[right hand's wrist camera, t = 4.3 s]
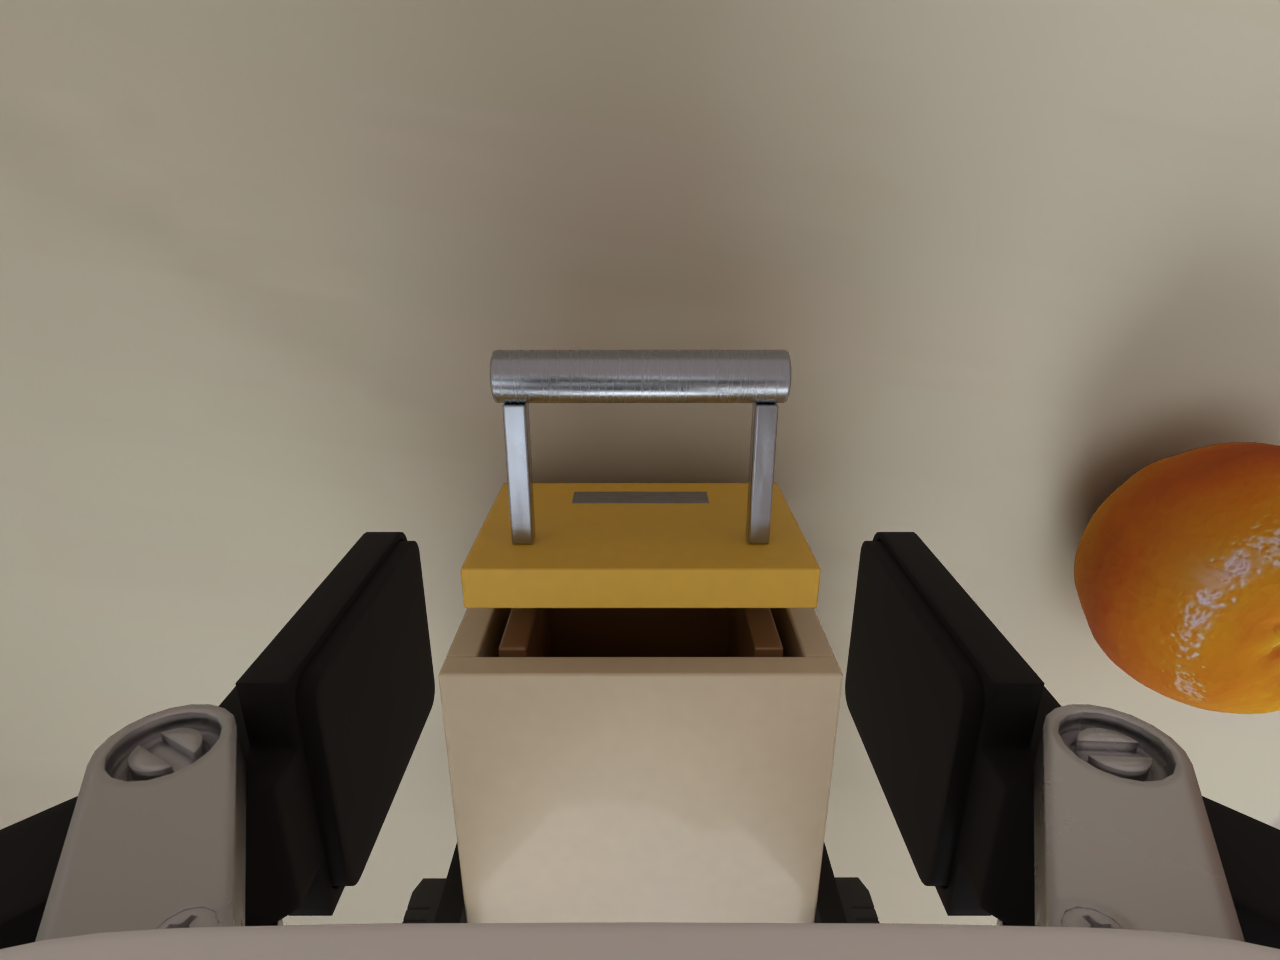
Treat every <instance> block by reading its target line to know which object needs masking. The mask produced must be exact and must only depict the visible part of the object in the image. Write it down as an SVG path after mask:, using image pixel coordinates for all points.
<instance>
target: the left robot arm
mask: <svg viewBox="0 0 1280 960" xmlns="http://www.w3.org/2000/svg"><path fill="white" fill-rule="evenodd" d="M405 923H467V920H466V912H465V903H464V895H463V886H462V877H461V868H460V860H459V851H458V842H457V844H456V848H455V851H454V855H453V858H452V862H451V865H450V868H449V872H448V875H447V879H423V880H422V881H421V882H420V883H419V885H418V886H417V887H416V888H415V890H414V891H413V892H412V895H411V898H410V901H409V904H408V909H407V910H406V913H405V916H404V921H403V922H402V924H405ZM815 923H875V924H880V923H879V921H878V917H877V914H876V911H875V909H874V905H873V902H872V899H871V896H870V893H869V891H868V889H867V888H866V887H865V886H864V884H863V883H862V882H861V881H860V879H859V878H834V874H833V871H832V868H831V864H830V861H829V857H828V854H827V850H826V847H825V843H824V844H823V853H822V862H821V871H820V880H819V888H818V897H817V905H816V914H815Z"/></svg>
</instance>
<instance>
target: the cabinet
mask: <svg viewBox="0 0 1280 960" xmlns="http://www.w3.org/2000/svg"><path fill="white" fill-rule="evenodd" d="M511 609H512V608H467V610H466V613H465V615H464V617H463V620H462V622H461V624H460V626H459V629H458V631H457V633H456V636H455V638H454V640H453V642H452V645H451V647H450V649H449V652H448V654H447V658H446V659H445V662H444V664H443V666H442V668H441V671H440V673H439V684H440V692H441V701H442V710H443V719H444V728H445V736H446V745H447V754H448V763H449V772H450V780H451V789H452V798H453V807H454V816H455V824H456V833H457V842H458V851H459V860H460V868H461V877H462V886H463V895H464V903H465V912H466V920H467V923H604V922H676V923H815V914H816V905H817V897H818V888H819V880H820V871H821V862H822V853H823V844H824V836H825V827H826V818H827V809H828V800H829V792H830V783H831V774H832V765H833V757H834V748H835V739H836V730H837V721H838V713H839V704H840V695H841V686H842V677H843V675H842V672H841V670H840V668H839V665H838V663H837V661H836V658H834V654H833V652H832V649H831V647H830V645H829V643H828V640H827V638H826V636H825V633H824V631H823V629H822V627H821V624H820V622H819V620H818V618H817V615H816V613H815V611H814V608H770V610H771V613H772V616H773V619H774V622H775V625H776V628H777V631H778V634H779V637H780V640H781V643H782V647H783V657H499V651H498V649H499V646H500V642H501V639H502V636H503V633H504V630H505V627H506V624H507V621H508V618H509V615H510V612H511Z"/></svg>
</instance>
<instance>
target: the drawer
mask: <svg viewBox="0 0 1280 960" xmlns="http://www.w3.org/2000/svg"><path fill="white" fill-rule="evenodd" d="M490 384H491V391H492V396H493V398H494V401H495V402H497V403H504V405H503V418H504V433H505V448H506V463H507V478H508V483H504V484H503V486H502V488H501V490H500V492H499V494H498V496H497V498H496V500H495V502H494V504H493V506H492V508H491V510H490V512H489V514H488V516H487V518H486V520H485V522H484V524H483V526H482V528H481V530H480V532H479V534H478V536H477V538H476V540H475V542H474V544H473V546H472V548H471V550H470V552H469V554H468V556H467V558H466V560H465V562H464V564H463V566H462V568H461V577H462V588H463V598H464V606H465V608H512V609H511V612H510V615H509V618H508V621H507V624H506V627H505V630H504V633H503V636H502V639H501V642H500V646H499V649H498V651H499V657H783V647H782V643H781V640H780V637H779V634H778V631H777V628H776V625H775V622H774V619H773V616H772V613H771V610H770V608H816V607H817V601H818V590H819V580H820V567H819V565H818V564H817V562H816V560H815V558H814V556H813V554H812V552H811V550H810V548H809V546H808V544H807V542H806V540H805V538H804V536H803V534H802V532H801V530H800V528H799V526H798V524H797V522H796V520H795V518H794V516H793V514H792V512H791V510H790V508H789V506H788V504H787V502H786V500H785V498H784V496H783V494H782V492H781V490H780V489H779V487H778V485H777V483H773V478H774V463H775V448H776V434H777V419H778V405H777V403H784V402H786V401H787V399H788V396H789V392H790V386H791V361H790V356H789V353H788V351H786V350H496V351H494V352H493V354H492V357H491V363H490ZM528 403H753V409H752V427H751V445H750V464H749V482H748V483H533V478H532V459H531V441H530V423H529V405H528Z"/></svg>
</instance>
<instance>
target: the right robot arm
mask: <svg viewBox="0 0 1280 960" xmlns="http://www.w3.org/2000/svg"><path fill="white" fill-rule="evenodd" d="M434 694H435V682H434V673H433V665H432V656H431V648H430V639H429V631H428V622H427V613H426V605H425V596H424V588H423V579H422V570H421V562H420V553H419V547H418V545H417V543H416V541H407V538H406V536H405V534H404V533H403V532H366V533H365V534H363V535H362V537H361V538H360V539H359V540H358V541H357V542H356V544H355V545H354V546H353V547H352V548H351V549H350V551H349V552H348V553H347V554H346V555H345V556H344V558H343V559H342V560H341V561H340V562H339V563H338V565H337V566H336V567H335V568H334V569H333V570H332V572H331V573H330V574H329V575H328V576H327V577H326V579H325V580H324V581H323V582H322V583H321V584H320V586H319V587H318V588H317V589H316V590H315V591H314V593H313V594H312V595H311V596H310V597H309V598H308V600H307V601H306V602H305V603H304V604H303V605H302V607H301V608H300V609H299V610H298V611H297V612H296V614H295V615H294V616H293V617H292V618H291V619H290V621H289V622H288V623H287V624H286V625H285V626H284V628H283V629H282V630H281V631H280V632H279V633H278V635H277V636H276V637H275V638H274V639H273V640H272V642H271V643H270V644H269V645H268V646H267V647H266V649H265V650H264V651H263V652H262V653H261V654H260V656H259V657H258V658H257V659H256V660H255V661H254V663H253V664H252V665H251V666H250V667H249V668H248V670H247V671H246V672H245V673H244V674H243V675H242V677H241V678H240V679H239V680H238V681H237V682H236V687H235V688H234V689H233V690H232V691H231V693H230V694H229V695H228V696H227V697H226V698H225V700H224V701H223V702H222V703H221V704H220V705H219V707H218V706H214V705H194V704H192V705H186V706H180V707H174V708H169V709H166V710H163V711H160V712H157V713H154V714H151V715H148V716H146V717H144V718H142V719H140V720H137V721H135V722H133V723H131V724H129V725H127V726H126V727H124V728H123V729H121V730H120V731H118V732H117V733H115V734H114V735H112V736H111V737H109V738H108V739H107V740H106V741H105V742H104V743H103V744H102V745H101V746H100V747H99V748H98V749H97V750H96V751H95V752H94V754H93V756H92V758H91V759H90V761H89V763H88V765H87V768H86V771H85V775H84V778H83V782H82V785H81V788H80V792H79V795H78V796H77V797H75V798H72V799H70V800H68V801H65V802H63V803H61V804H59V805H56V806H54V807H52V808H49V809H47V810H45V811H43V812H40V813H38V814H36V815H33V816H31V817H29V818H27V819H24V820H22V821H20V822H17V823H15V824H13V825H11V826H8V827H6V828H4V829H1V830H0V960H1280V830H1279V829H1276V828H1274V827H1272V826H1269V825H1267V824H1265V823H1263V822H1260V821H1258V820H1256V819H1253V818H1251V817H1249V816H1247V815H1244V814H1242V813H1240V812H1237V811H1235V810H1233V809H1231V808H1228V807H1226V806H1224V805H1221V804H1219V803H1217V802H1215V801H1212V800H1210V799H1208V798H1205V797H1203V796H1202V795H1201V792H1200V788H1199V785H1198V782H1197V778H1196V775H1195V771H1194V768H1193V765H1192V763H1191V761H1190V759H1189V758H1188V756H1187V754H1186V752H1185V751H1184V750H1183V749H1182V748H1181V747H1180V746H1179V745H1178V744H1177V743H1176V742H1175V741H1174V740H1173V739H1172V738H1171V737H1169V736H1168V735H1166V734H1165V733H1163V732H1162V731H1160V730H1159V729H1157V728H1156V727H1154V726H1153V725H1151V724H1149V723H1147V722H1145V721H1143V720H1140V719H1138V718H1136V717H1134V716H1132V715H1129V714H1126V713H1123V712H1120V711H1117V710H1114V709H1111V708H1106V707H1100V706H1094V705H1088V704H1086V705H1066V706H1062V707H1061V705H1060V704H1059V703H1058V702H1057V701H1056V700H1055V698H1054V697H1053V696H1052V695H1051V694H1050V693H1049V691H1048V690H1047V689H1046V688H1045V687H1044V682H1043V681H1042V680H1041V679H1040V678H1039V677H1038V675H1037V674H1036V673H1035V672H1034V671H1033V670H1032V668H1031V667H1030V666H1029V665H1028V664H1027V663H1026V661H1025V660H1024V659H1023V658H1022V657H1021V656H1020V654H1019V653H1018V652H1017V651H1016V650H1015V649H1014V647H1013V646H1012V645H1011V644H1010V643H1009V642H1008V640H1007V639H1006V638H1005V637H1004V636H1003V635H1002V633H1001V632H1000V631H999V630H998V629H997V628H996V626H995V625H994V624H993V623H992V622H991V621H990V619H989V618H988V617H987V616H986V615H985V614H984V612H983V611H982V610H981V609H980V608H979V607H978V605H977V604H976V603H975V602H974V601H973V600H972V598H971V597H970V596H969V595H968V594H967V593H966V591H965V590H964V589H963V588H962V587H961V586H960V584H959V583H958V582H957V581H956V580H955V579H954V577H953V576H952V575H951V574H950V573H949V572H948V570H947V569H946V568H945V567H944V566H943V565H942V563H941V562H940V561H939V560H938V559H937V558H936V556H935V555H934V554H933V553H932V552H931V551H930V549H929V548H928V547H927V546H926V545H925V544H924V543H923V541H922V540H921V539H920V538H919V537H918V536H917V534H915V533H914V532H877V533H876V534H875V536H874V538H873V541H864V543H863V545H862V547H861V553H860V562H859V570H858V579H857V587H856V596H855V605H854V613H853V622H852V630H851V639H850V648H849V656H848V665H847V673H846V682H845V694H846V701H847V705H848V708H849V711H850V713H851V716H852V718H853V720H854V723H855V725H856V727H857V730H858V732H859V735H860V737H861V739H862V742H863V744H864V746H865V749H866V751H867V754H868V756H869V758H870V761H871V763H872V765H873V768H874V770H875V773H876V775H877V777H878V780H879V782H880V785H881V787H882V789H883V792H884V794H885V796H886V799H887V801H888V804H889V806H890V808H891V811H892V813H893V815H894V818H895V820H896V823H897V825H898V827H899V830H900V832H901V835H902V837H903V839H904V842H905V844H906V846H907V849H908V851H909V854H910V856H911V858H912V861H913V863H914V865H915V868H916V870H917V873H918V875H919V877H920V879H921V881H922V882H923V884H924V885H926V886H935V887H936V889H937V892H938V894H939V896H940V898H941V901H942V903H943V905H944V908H945V910H946V912H947V914H948V916H991V915H993V916H994V917H996V918H998V921H997V925H996V926H992V925H943V924H875V923H676V922H604V923H405V924H338V925H288V926H284V925H283V921H282V918H284V917H286V916H287V915H289V916H332V914H333V912H334V910H335V908H336V905H337V903H338V901H339V898H340V896H341V894H342V892H343V889H344V887H345V886H354V885H356V884H357V882H358V881H359V879H360V877H361V875H362V873H363V870H364V868H365V865H366V863H367V861H368V858H369V856H370V854H371V851H372V849H373V846H374V844H375V842H376V839H377V837H378V834H379V832H380V830H381V827H382V825H383V823H384V820H385V818H386V815H387V813H388V811H389V808H390V806H391V804H392V801H393V799H394V796H395V794H396V792H397V789H398V787H399V785H400V782H401V780H402V777H403V775H404V773H405V770H406V768H407V765H408V763H409V761H410V758H411V756H412V754H413V751H414V749H415V746H416V744H417V742H418V739H419V737H420V735H421V732H422V730H423V727H424V725H425V723H426V720H427V718H428V715H429V713H430V711H431V708H432V705H433V701H434Z"/></svg>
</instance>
